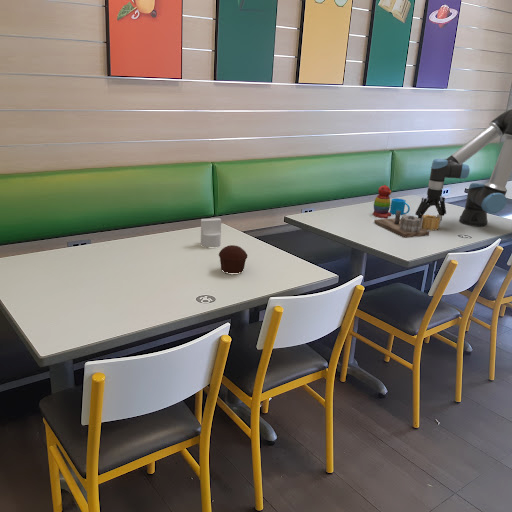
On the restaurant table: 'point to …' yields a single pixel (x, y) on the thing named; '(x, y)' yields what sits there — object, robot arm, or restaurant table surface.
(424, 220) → the ochre gear
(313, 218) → the restaurant table surface
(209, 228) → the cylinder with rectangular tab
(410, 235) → the gear board
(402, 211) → the mug
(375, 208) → the stacking bear
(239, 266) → the muffin
